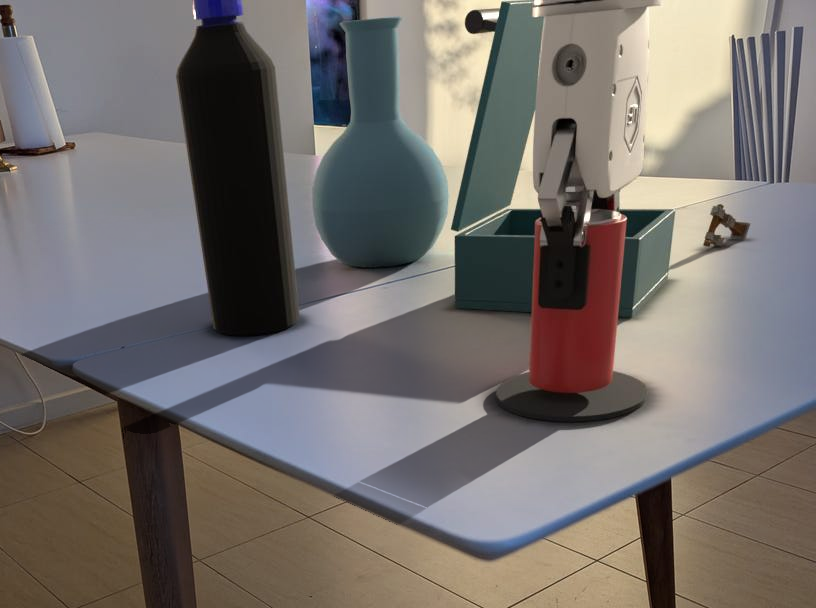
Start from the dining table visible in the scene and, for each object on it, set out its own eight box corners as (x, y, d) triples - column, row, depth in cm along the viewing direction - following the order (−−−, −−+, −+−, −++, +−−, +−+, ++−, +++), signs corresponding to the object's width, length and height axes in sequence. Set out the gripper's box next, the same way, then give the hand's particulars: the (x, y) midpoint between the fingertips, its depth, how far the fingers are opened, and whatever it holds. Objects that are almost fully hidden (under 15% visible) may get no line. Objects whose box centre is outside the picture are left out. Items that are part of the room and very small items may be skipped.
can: (628, 376, 67) (645, 211, 61) (578, 398, 64) (591, 227, 58) (562, 362, 71) (571, 205, 65) (512, 382, 68) (517, 220, 62)
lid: (563, 0, 86) (511, -13, 88) (510, 3, 76) (451, -11, 78) (510, 205, 98) (465, 191, 100) (457, 232, 88) (408, 216, 89)
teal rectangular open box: (667, 280, 95) (675, 209, 91) (631, 317, 84) (639, 238, 80) (505, 274, 102) (506, 208, 99) (454, 308, 92) (454, 235, 88)
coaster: (677, 389, 68) (677, 384, 67) (586, 433, 62) (587, 428, 62) (556, 363, 75) (556, 358, 75) (465, 401, 69) (465, 395, 69)
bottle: (289, 308, 97) (256, -14, 82) (308, 328, 90) (276, -21, 75) (207, 320, 96) (158, -5, 80) (220, 341, 89) (169, -12, 73)
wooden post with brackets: (694, 242, 104) (708, 200, 103) (723, 260, 110) (736, 220, 108) (709, 244, 103) (723, 201, 102) (737, 261, 109) (751, 221, 107)
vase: (466, 263, 109) (467, 9, 95) (331, 280, 107) (311, 23, 93) (425, 239, 123) (420, 15, 109) (305, 255, 120) (284, 27, 106)
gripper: (623, -24, 47) (595, 332, 57) (692, -24, 59) (659, 269, 69) (485, -10, 50) (481, 325, 60) (577, -12, 62) (562, 266, 72)
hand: (576, 292), depth 64 cm, fingers closed on can, 6 cm apart
